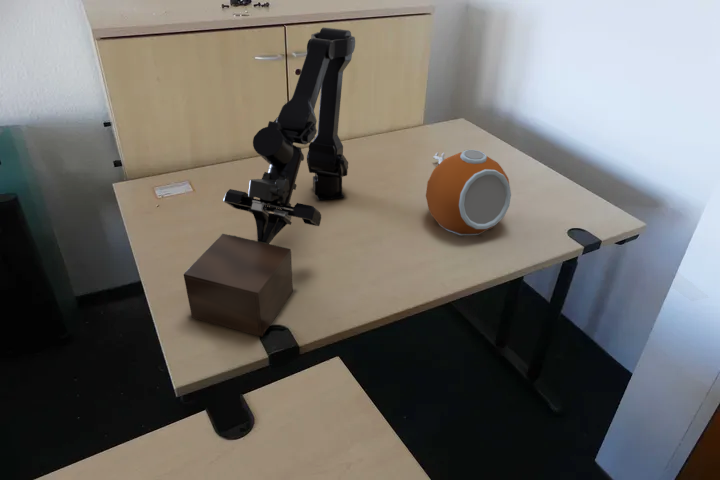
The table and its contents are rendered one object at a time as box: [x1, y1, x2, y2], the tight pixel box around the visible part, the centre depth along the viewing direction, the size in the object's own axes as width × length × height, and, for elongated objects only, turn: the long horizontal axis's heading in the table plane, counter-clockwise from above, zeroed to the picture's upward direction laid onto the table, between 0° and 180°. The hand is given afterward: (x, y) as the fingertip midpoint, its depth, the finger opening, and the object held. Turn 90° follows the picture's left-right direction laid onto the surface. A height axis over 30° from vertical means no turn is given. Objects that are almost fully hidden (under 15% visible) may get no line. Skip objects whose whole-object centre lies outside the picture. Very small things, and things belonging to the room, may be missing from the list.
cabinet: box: [183, 233, 294, 338], centre depth 99 cm, size 13×14×10 cm
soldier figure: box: [432, 151, 445, 165], centre depth 147 cm, size 8×5×12 cm
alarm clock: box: [425, 149, 512, 236], centre depth 124 cm, size 19×18×17 cm
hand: (260, 249), depth 104 cm, fingers closed, pressing on drawer
